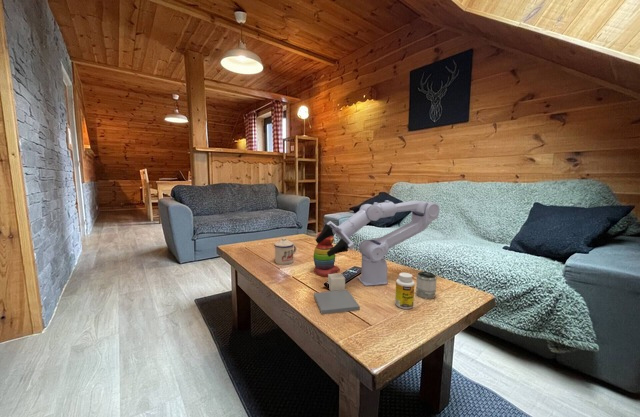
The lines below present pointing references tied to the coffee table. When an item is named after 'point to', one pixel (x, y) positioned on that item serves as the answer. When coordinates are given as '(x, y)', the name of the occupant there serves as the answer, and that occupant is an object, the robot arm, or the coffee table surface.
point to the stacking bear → (324, 258)
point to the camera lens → (426, 285)
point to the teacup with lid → (284, 252)
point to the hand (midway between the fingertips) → (322, 248)
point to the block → (336, 282)
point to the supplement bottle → (404, 291)
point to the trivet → (336, 302)
